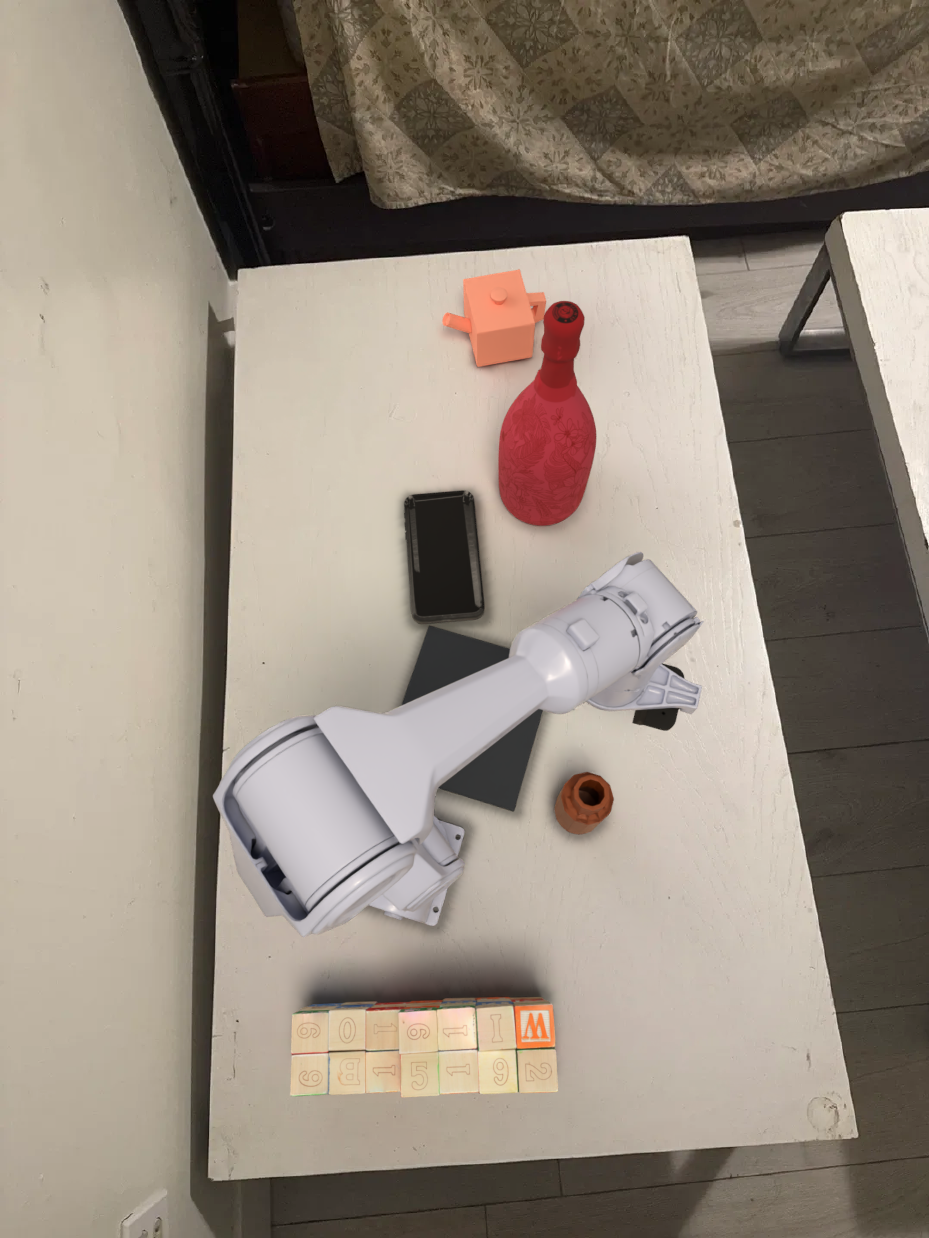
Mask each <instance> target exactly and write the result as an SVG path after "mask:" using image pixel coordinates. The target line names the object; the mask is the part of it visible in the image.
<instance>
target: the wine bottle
mask: <svg viewBox="0 0 929 1238" xmlns="http://www.w3.org/2000/svg"><path fill="white" fill-rule="evenodd" d="M585 320H586V319H585V315H584V313H583V310H582V309H581V308H580V306H579V305H578V304H577V303H575V302H573V301H570V300H559V301H555V302H553V303H552V304H551V305H549V307H548V308H547V309H546V310H545V314H544V319H543V320H542V321H543V322H542V323H543V335H542V337H541V339H540V340H541V341H540V350H541V351H542V353H543V357H542V362H541V367H540V368H539V369H538V370H537V372H536V375H535V377H534V379H533V380H531V381H532V382H530V383H529V384H528V385H527V386H525V388H524V389H523V390H522V391H521V392H520V393H519V394H518V395H517V396H516V398H515V399H514V401H513V402H512V403H511V405H510V406H509V408H508V409H507V412H506V414H505V416H504V418H503V421H502V423H501V427H500V432H499V437H498V438H499V439H498V441H499V442H498V454H497V455H498V458H497V460H498V462H497V463H498V465H497V466H498V467H497V469H498V470H497V471H498V490H499V495H500V498H501V501H502V503H503V505H504V507H505V508H506V510H507V511H508V512H509V513H510V515H512V516H513V517H514V518H516V519H517V520H519V521H521V522H523V523H525V524H529V525H532V526H537V527H538V526H540V527H544V526H545V527H546V526H552V525H556V524H559V523H561V522H563V521H565V520H566V519H568V518H569V517H571V516H572V515H573V514H574V513H575V512H576V511H577V509H578V508H579V506H580V504H581V503H582V501H583V498H584V496H585V492H586V490H587V485H588V483H589V478H590V474H591V471H592V467H593V464H594V459H595V454H596V449H597V448H596V447H597V426H596V422H595V418H594V414H593V412H592V409H591V407H590V404H589V402H588V401H587V398H586V397H585V394H584V393H583V392H582V390H581V389H580V387H579V385H578V380H577V376H576V374H575V359H576V358H577V356H578V355H579V351H580V348H581V335H582V333H583V332H582V331H583V329H584V327H585Z"/></svg>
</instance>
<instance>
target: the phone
mask: <svg viewBox="0 0 929 1238" xmlns="http://www.w3.org/2000/svg"><path fill="white" fill-rule="evenodd" d="M403 509H404V510H403V511H404V513H403V517H404V531H405V532H404V537H405V540H406V553H407V569H408V585H409V598H410V612H411V616H412V619H413V621H414V622H415V623H417V624H419V625H430V624H440V623H441V624H442V623H452V622H465V621H476V620H478V619H481V618H482V617H483V615H484V613H485V598H484V597H485V595H484V586H483V575H482V566H481V555H480V546H479V535H478V528H477V527H478V525H477V515H476V505H475V498H474V495H473V493H471V492H470V491H468V490H465V489H464V490H449V491H437V492H436V491H435V492H426V493H413V494H410V495H408V496H407V497H406V498H405V499H404V502H403Z"/></svg>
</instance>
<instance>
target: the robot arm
mask: <svg viewBox="0 0 929 1238" xmlns="http://www.w3.org/2000/svg"><path fill="white" fill-rule="evenodd" d="M697 614H698V610H697V609H696V608H695V607H694V606H693V605H692V604H691V603H690V602H689V600H688V599H687V598H686V597H685V596H684V595H683V594H682V593H681V592H680V590H679V589H677V587H676V586H675V585H674V583H672V582H671V581H670V580H669V579H668V577H667V576H666V575H665V574H664V573H663V572H662V571H661V570H660V569H659V567H658V566H657V565H656V564H655V563H654V562H653V561H652V559H650V558H646V559H644V553H643V552H642V551H636V552H634V553H632V554H630V555H628V556H625V557H624V558H623V559H621V560H620V561H618V562H617V563H615V564H614V565H613V566H611V567H610V568H608V569H607V570H606V571H605V572H604V573H603V574H601V576H599V577H598V578H597V579H596V580H594V581H592V582H590V583H589V585H587V586H586V587H584V589H583V590H582V591H581V593H580V594H579V595H578V597H577V598H576V600H574V601H571V602H570V603H568V604H566V605H565V606H563V607H561V608H559V609H557V610H556V611H554V612H552V613H550V614H548V615H547V616H544V617H542V619H540V620H538V621H536V622H533V623H532V624H530V625H529V626H527V627H525V628H523V629H521V630H520V631H519V632H517V634H515V636H514V638H512V639H513V640H512V641H511V645H510V648H509V649H510V652H509V658H508V659H506V660H503V661H501V662H499V663H497V664H494V665H492V666H490V667H488V668H485V669H483V670H481V671H479V672H476V673H474V674H472V675H470V676H467V677H465V678H463V679H461V680H458V681H456V682H454V683H452V684H449V685H447V686H445V687H442V688H440V689H438V690H436V691H433V692H431V693H429V694H427V695H424V696H422V697H420V698H418V699H415V700H413V701H411V702H409V703H406V704H404V705H402V704H401V705H402V706H401V705H399V706H397V707H395V708H393V709H390V710H388V711H385V712H374V711H370V710H364V709H360V708H354V707H350V706H349V707H348V706H343V705H333V706H330V707H328V708H326V709H325V710H323V711H321V712H320V713H318V714H298V715H294V716H292V717H288V718H286V719H284V720H281V721H279V722H277V723H276V724H273V725H272V726H270V727H269V728H267V729H265V730H264V731H261V733H259V734H258V735H256V736H255V737H254V738H252V739H251V740H250V741H248V742H247V743H246V744H245V745H244V746H242V748H241V749H240V750H239V751H238V752H237V753H236V754H235V756H234V757H233V758H232V759H231V761H230V762H229V765H228V767H227V769H226V771H225V773H224V774H223V775H222V777H221V779H220V781H219V785H218V786H217V788H215V791H214V793H213V794H212V798H213V801H214V804H215V805H216V808H217V810H218V812H219V815H220V816H221V818H222V820H223V822H224V825H225V827H226V830H227V832H228V835H229V840H230V845H231V850H232V854H233V858H234V864H235V868H236V872H237V874H238V876H239V877H240V879H241V880H242V882H243V884H244V885H245V887H246V888H247V890H248V892H249V893H250V894H251V896H252V897H253V899H254V902H256V903H255V904H257V907H258V908H259V909H260V912H262V914H263V916H264V917H266V918H272V917H283V918H284V919H285V920H286V921H287V922H288V923H289V925H290V926H291V927H292V928H293V929H294V930H295V931H296V932H297V933H298V935H300V936H301V938H306V937H309V936H311V935H317V936H319V935H321V934H324V933H326V932H329V931H331V930H333V929H335V928H338V927H340V926H342V925H345V924H347V923H349V921H351V920H353V919H354V918H355V917H356V916H358V915H359V914H360V913H362V911H363V910H365V909H366V907H369V906H370V907H373V908H375V909H378V910H382V911H383V915H384V916H387V917H390V918H393V919H396V920H399V921H403V919H404V918H405V919H409V920H411V921H415V922H418V923H421V924H424V925H427V926H429V927H435V926H436V925H437V924H438V923H439V920H440V917H441V914H442V910H443V906H444V904H445V903H444V902H445V900H446V897H447V893H448V891H449V887H450V886H451V885H453V884H454V883H455V882H456V881H457V880H458V879H459V878H460V877H462V876H463V874H464V871H465V866H466V862H465V860H464V859H463V858H460V857H459V853H460V851H461V847H462V844H463V841H464V838H465V833H466V831H465V829H464V828H463V827H461V826H459V825H456V824H452V823H450V822H446V821H443V820H440V819H438V817H437V816H436V815H434V814H435V802H436V794H437V791H438V789H439V786H441V785H442V784H443V783H444V782H446V781H447V780H448V779H450V778H451V777H452V776H453V775H455V774H456V773H457V772H458V771H460V770H461V769H462V768H464V767H465V766H466V765H467V764H469V763H470V762H471V761H472V760H474V759H475V758H476V757H478V756H479V755H480V754H481V753H483V752H484V751H485V750H487V749H488V748H489V747H490V746H492V745H493V744H494V743H495V742H497V741H498V740H499V739H501V738H502V737H503V736H504V735H506V734H507V733H508V732H509V731H511V730H512V729H513V728H515V727H516V726H517V725H518V724H520V723H521V722H522V721H523V720H525V719H526V718H527V717H529V716H530V715H531V714H532V713H534V712H535V711H536V710H538V709H541V710H543V712H547V713H550V714H554V715H565V714H568V713H571V712H572V711H573V710H575V709H576V708H578V707H580V706H581V705H583V704H584V703H586V704H588V705H589V706H591V707H593V708H595V709H597V710H600V711H605V712H626V711H634V714H633V718H632V722H631V723H632V724H634V725H638V726H645V727H649V728H653V729H656V730H660V731H664V732H668V731H670V730H671V729H673V727H674V726H675V725H676V722H677V719H678V714H679V710H680V712H682V713H685V714H689V715H693V714H694V713H695V712H696V710H698V707H699V704H700V698H701V693H702V690H703V686H702V685H701V684H697V683H695V682H692V681H690V680H688V679H686V678H685V674H684V672H683V670H681V669H680V668H679V667H676V666H674V665H671V664H666V663H665V662H666V661H667V660H669V659H670V658H672V657H673V656H674V655H675V654H676V653H677V652H678V651H679V650H681V649H682V648H683V647H684V646H685V645H686V644H687V643H688V642H689V641H691V640H692V638H693V637H695V635H696V633H697V632H698V630H699V629H700V628H701V627H702V625H703V624H704V623H705V621H704V620H701V619H700V618H699V616H697ZM457 836H460V838H459V839H457V838H456V837H457ZM435 908H437V909H438V910H437V912H435V911H434V909H435Z"/></svg>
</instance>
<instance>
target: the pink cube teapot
mask: <svg viewBox="0 0 929 1238" xmlns="http://www.w3.org/2000/svg"><path fill="white" fill-rule="evenodd" d="M462 283H463V284H462V285H463V286H462V289H463V291H462V292H463V316H461V315H457V314H454V313H451V312H445V313H444V314H443V317H442V320H441V321H442V325H443V326H444V327H447V328H450V329H453V330H457V331H459V332H464V333H467V334H468V336H469V339H470V345H471V348H472V352H473V356H474V360H475V364H476V367H477V368H479V367H486V366H491V365H496V364H502V363H507V362H513V361H519V360H523V359H529V358H533V353H534V342H535V341H534V340H535V330H536V324H537V323H539V322H540V321H543V319H544V315H545V312H546V307H547V298H546V295H545V292H544V291H540V292H527V290H526V289H527V288H526V287H525V282H524V279H523V276H522V272H521V269H520V268H518V269H515V270H514V269H513V270H507V271H502V272H496V273H490V274H485V275H480V276H473V277H468V278H464V279H462Z"/></svg>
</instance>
